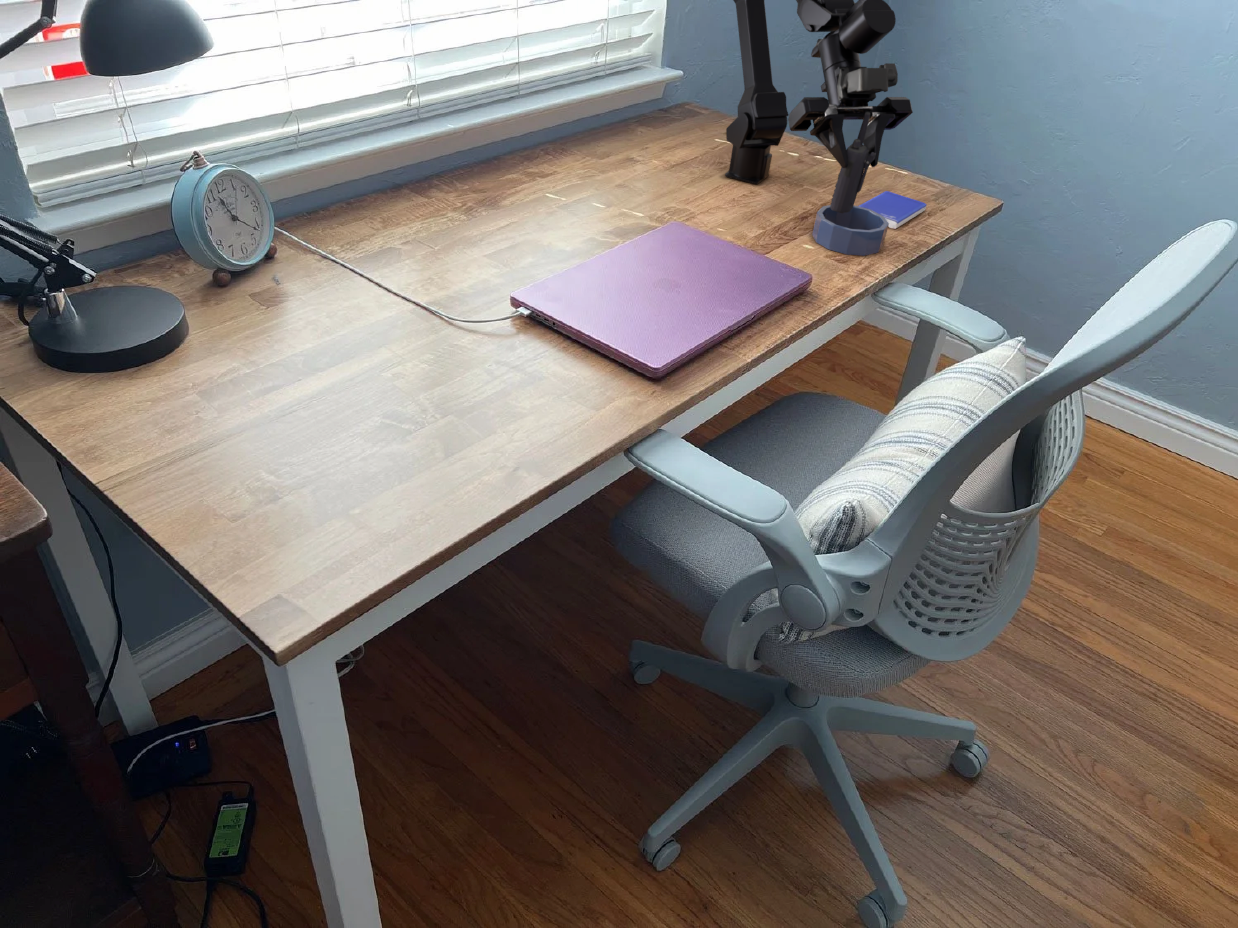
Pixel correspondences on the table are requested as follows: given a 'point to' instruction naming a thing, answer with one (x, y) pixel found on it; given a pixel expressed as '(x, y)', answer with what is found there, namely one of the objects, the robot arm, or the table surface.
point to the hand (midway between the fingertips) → (859, 166)
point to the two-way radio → (852, 172)
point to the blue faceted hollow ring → (850, 230)
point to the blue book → (895, 208)
